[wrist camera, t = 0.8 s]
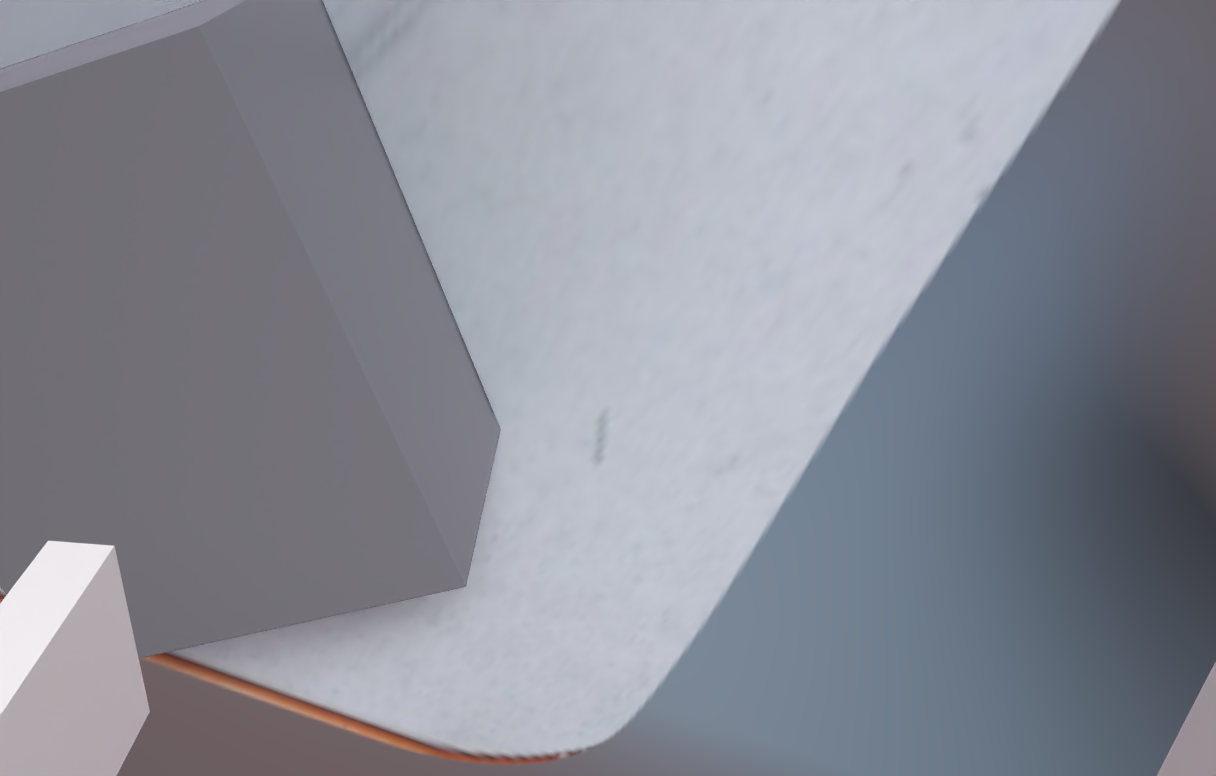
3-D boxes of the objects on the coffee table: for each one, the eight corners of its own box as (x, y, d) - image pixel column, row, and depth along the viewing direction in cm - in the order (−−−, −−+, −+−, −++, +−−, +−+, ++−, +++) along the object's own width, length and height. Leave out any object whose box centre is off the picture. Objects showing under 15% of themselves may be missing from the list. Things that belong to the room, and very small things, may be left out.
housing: (-84, 97, 34) (-300, 191, 26) (307, -35, 32) (198, 26, 24) (173, 509, 42) (67, 674, 34) (500, 429, 40) (465, 586, 32)
